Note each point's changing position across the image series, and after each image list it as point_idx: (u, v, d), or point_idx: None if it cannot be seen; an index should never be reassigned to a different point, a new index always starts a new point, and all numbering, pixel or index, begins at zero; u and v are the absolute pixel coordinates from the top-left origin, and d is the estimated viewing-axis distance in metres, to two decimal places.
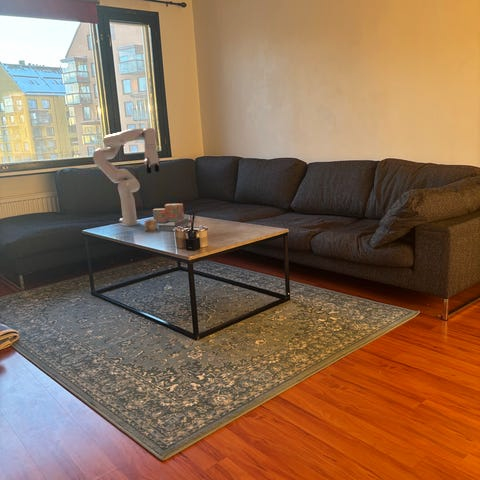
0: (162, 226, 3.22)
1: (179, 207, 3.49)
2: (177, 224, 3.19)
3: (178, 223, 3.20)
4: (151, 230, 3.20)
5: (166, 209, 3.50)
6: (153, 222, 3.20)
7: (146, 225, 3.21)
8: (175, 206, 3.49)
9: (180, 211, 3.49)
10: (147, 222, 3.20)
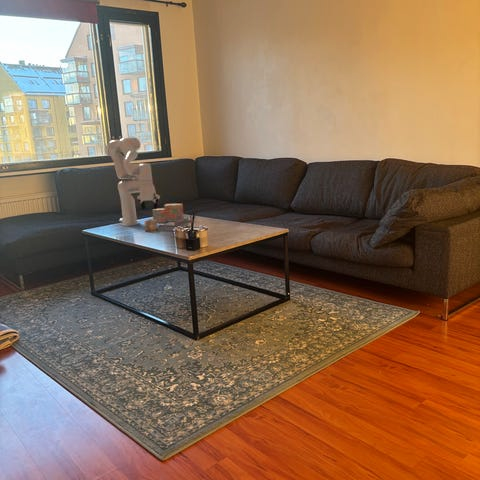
0: (162, 226, 3.22)
1: (178, 207, 3.48)
2: (177, 224, 3.19)
3: (178, 223, 3.20)
4: (151, 230, 3.20)
5: (165, 209, 3.50)
6: (153, 222, 3.20)
7: (146, 225, 3.21)
8: (174, 206, 3.48)
9: (179, 211, 3.49)
10: (147, 222, 3.20)
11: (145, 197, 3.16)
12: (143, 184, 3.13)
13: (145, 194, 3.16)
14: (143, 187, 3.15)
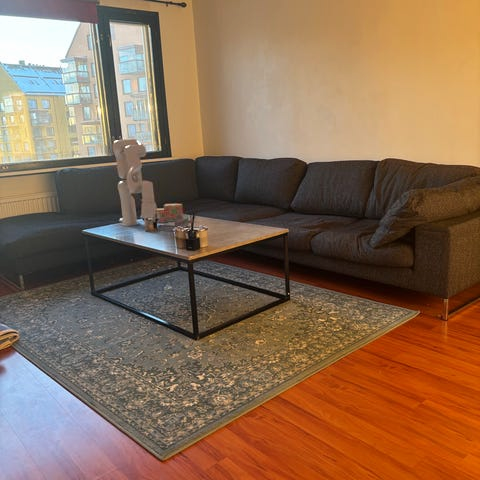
0: (162, 226, 3.22)
1: (178, 207, 3.48)
2: (177, 224, 3.19)
3: (178, 223, 3.20)
4: (151, 230, 3.20)
5: (165, 209, 3.50)
6: None
7: (146, 225, 3.21)
8: (174, 206, 3.48)
9: (179, 211, 3.48)
10: (147, 222, 3.20)
11: (146, 215, 3.19)
12: (145, 202, 3.16)
13: (147, 212, 3.18)
14: (145, 205, 3.18)
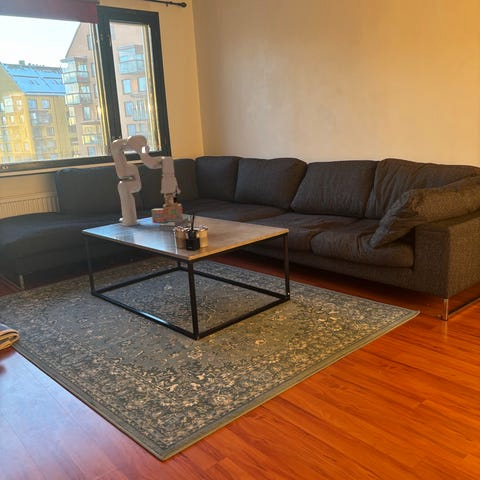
0: (162, 226, 3.22)
1: (177, 207, 3.47)
2: (177, 224, 3.19)
3: (178, 223, 3.20)
4: (171, 205, 3.21)
5: (164, 209, 3.49)
6: None
7: (166, 200, 3.22)
8: None
9: (178, 211, 3.48)
10: (167, 197, 3.21)
11: (167, 190, 3.20)
12: (165, 177, 3.17)
13: (167, 186, 3.20)
14: (165, 180, 3.19)
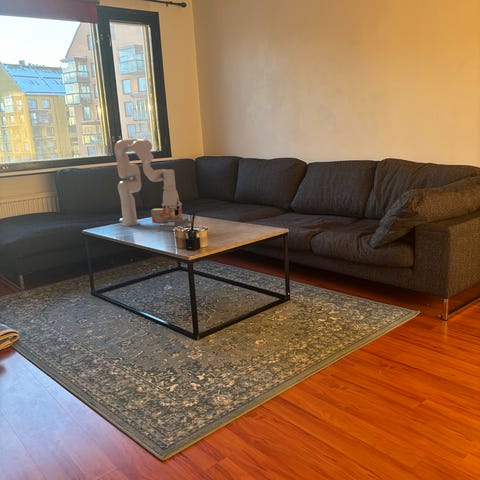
0: (162, 226, 3.22)
1: None
2: (177, 224, 3.19)
3: (178, 223, 3.20)
4: (173, 217, 3.23)
5: (164, 209, 3.49)
6: (174, 209, 3.23)
7: (168, 213, 3.24)
8: (172, 206, 3.47)
9: None
10: (169, 209, 3.23)
11: (168, 202, 3.22)
12: (167, 190, 3.19)
13: (168, 199, 3.21)
14: (166, 193, 3.21)
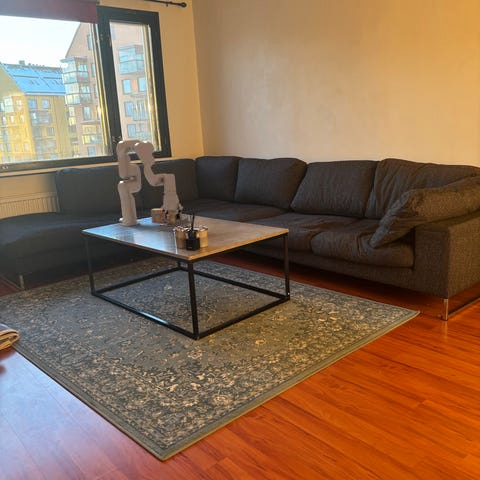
0: (162, 226, 3.22)
1: None
2: (177, 224, 3.19)
3: (178, 223, 3.20)
4: (173, 223, 3.24)
5: None
6: (175, 215, 3.24)
7: (168, 219, 3.25)
8: None
9: None
10: (169, 215, 3.24)
11: (168, 207, 3.23)
12: (167, 194, 3.20)
13: (169, 204, 3.22)
14: (167, 197, 3.22)
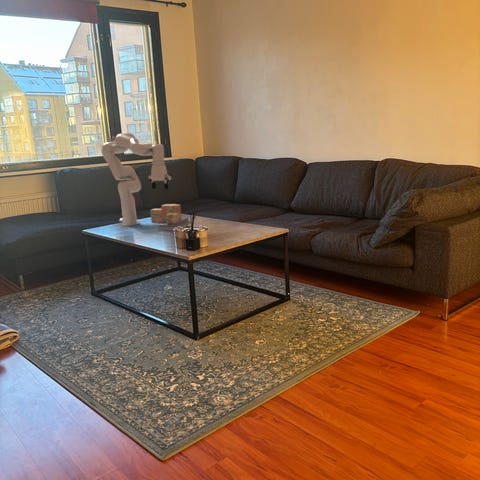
0: (162, 226, 3.22)
1: (175, 207, 3.46)
2: (177, 224, 3.19)
3: (178, 223, 3.20)
4: (173, 223, 3.24)
5: (163, 209, 3.49)
6: (175, 215, 3.24)
7: (168, 219, 3.25)
8: (171, 207, 3.47)
9: (176, 212, 3.47)
10: (169, 215, 3.24)
11: (156, 177, 3.24)
12: (155, 164, 3.21)
13: (156, 174, 3.23)
14: (155, 167, 3.22)
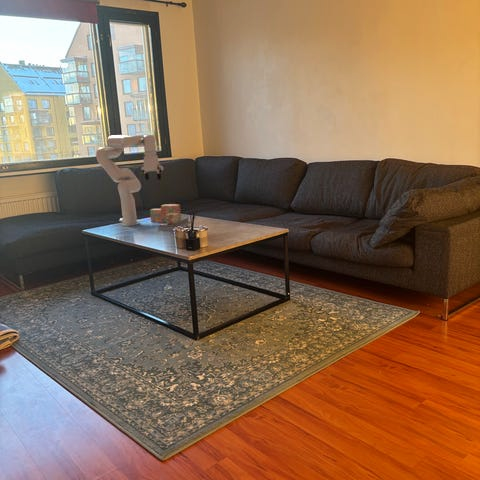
0: (162, 226, 3.22)
1: (174, 207, 3.46)
2: (177, 224, 3.19)
3: (178, 223, 3.20)
4: (173, 223, 3.24)
5: (162, 209, 3.49)
6: (175, 215, 3.24)
7: (168, 219, 3.25)
8: (171, 207, 3.47)
9: (175, 212, 3.46)
10: (169, 215, 3.24)
11: (149, 167, 3.26)
12: (147, 155, 3.24)
13: (149, 164, 3.26)
14: (147, 158, 3.25)
